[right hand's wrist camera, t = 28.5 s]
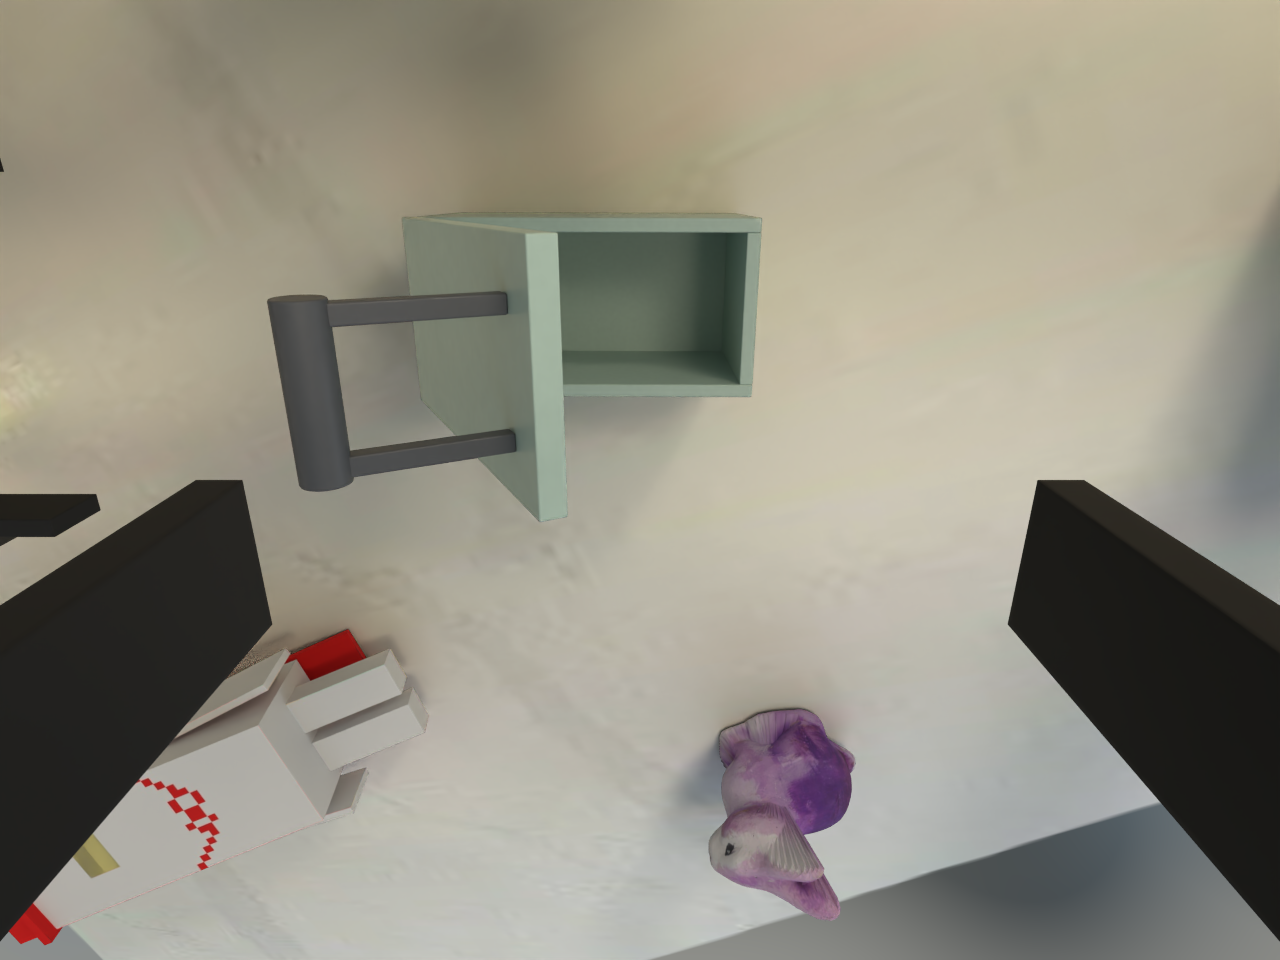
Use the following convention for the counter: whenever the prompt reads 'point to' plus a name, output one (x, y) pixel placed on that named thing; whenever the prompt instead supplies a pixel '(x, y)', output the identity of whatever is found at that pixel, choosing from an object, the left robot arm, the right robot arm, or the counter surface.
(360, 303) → the lid
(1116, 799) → the counter surface
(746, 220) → the chest
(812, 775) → the figurine
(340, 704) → the toy
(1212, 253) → the counter surface
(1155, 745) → the right robot arm
